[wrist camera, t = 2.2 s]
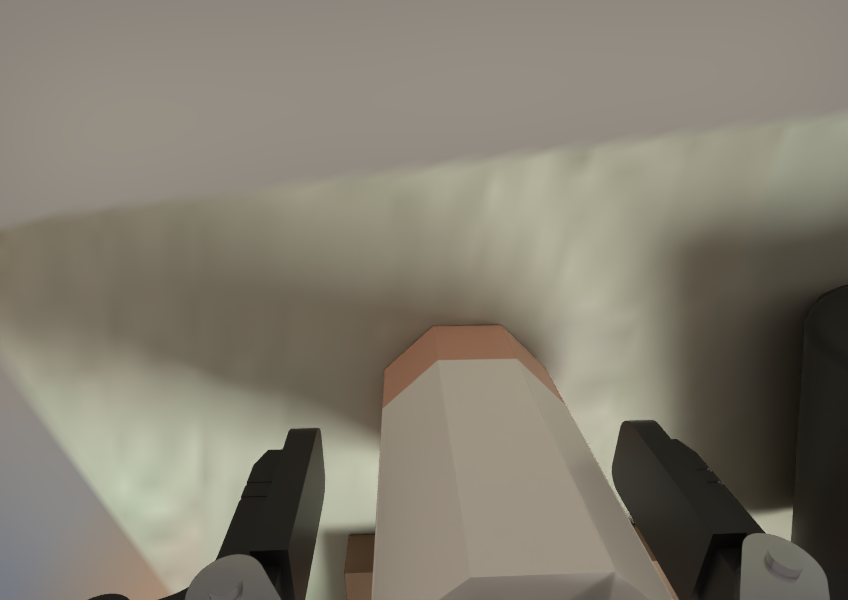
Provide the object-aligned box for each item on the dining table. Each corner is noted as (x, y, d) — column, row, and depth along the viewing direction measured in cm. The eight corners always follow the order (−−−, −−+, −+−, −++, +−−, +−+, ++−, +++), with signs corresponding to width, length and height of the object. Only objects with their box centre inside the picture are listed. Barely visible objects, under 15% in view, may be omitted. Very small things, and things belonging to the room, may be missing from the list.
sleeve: (549, 324, 14) (716, 567, 7) (533, 455, 16) (647, 756, 9) (383, 326, 14) (364, 581, 6) (387, 459, 16) (375, 772, 8)
